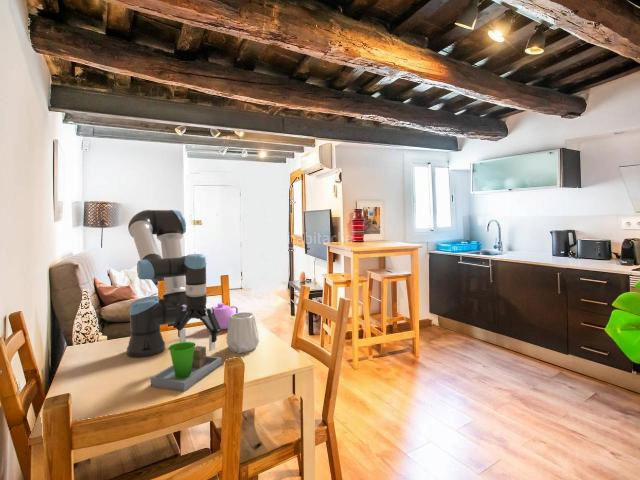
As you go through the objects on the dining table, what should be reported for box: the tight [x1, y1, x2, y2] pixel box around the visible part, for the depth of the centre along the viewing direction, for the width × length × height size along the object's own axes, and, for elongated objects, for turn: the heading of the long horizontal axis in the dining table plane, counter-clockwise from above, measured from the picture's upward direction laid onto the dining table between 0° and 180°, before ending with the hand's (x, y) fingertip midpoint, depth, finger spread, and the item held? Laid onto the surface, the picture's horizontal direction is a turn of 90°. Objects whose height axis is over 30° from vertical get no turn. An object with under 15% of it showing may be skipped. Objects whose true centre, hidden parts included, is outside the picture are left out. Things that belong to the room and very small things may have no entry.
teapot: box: [203, 302, 239, 331], centre depth 180 cm, size 22×16×14 cm
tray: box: [150, 355, 223, 392], centre depth 126 cm, size 14×22×3 cm, turn 163°
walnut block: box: [192, 345, 207, 369], centre depth 132 cm, size 4×4×7 cm
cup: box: [168, 341, 197, 379], centre depth 123 cm, size 9×9×11 cm
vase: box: [226, 312, 260, 354], centre depth 152 cm, size 14×14×15 cm
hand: (197, 347), depth 133 cm, fingers open, 13 cm apart
